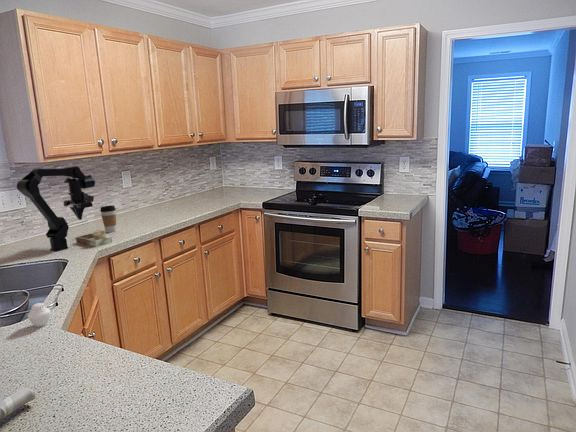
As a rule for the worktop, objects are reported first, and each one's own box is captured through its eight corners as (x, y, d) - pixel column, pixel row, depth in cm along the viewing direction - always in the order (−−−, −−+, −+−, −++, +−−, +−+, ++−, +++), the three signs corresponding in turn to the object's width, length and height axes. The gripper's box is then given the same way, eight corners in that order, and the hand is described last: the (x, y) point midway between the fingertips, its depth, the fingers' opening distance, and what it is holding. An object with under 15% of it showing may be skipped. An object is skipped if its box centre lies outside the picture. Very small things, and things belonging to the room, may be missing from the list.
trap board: (96, 246, 219) (95, 241, 219) (76, 243, 229) (75, 237, 229) (112, 242, 227) (111, 236, 226) (92, 238, 237) (91, 233, 236)
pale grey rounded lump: (55, 319, 136) (51, 298, 135) (48, 327, 131) (44, 306, 129) (34, 321, 136) (30, 300, 134) (26, 330, 130) (21, 308, 128)
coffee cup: (102, 233, 246) (98, 208, 243) (104, 230, 254) (100, 205, 251) (118, 232, 249) (114, 206, 245) (119, 228, 257) (115, 204, 253)
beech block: (99, 239, 221) (98, 232, 220) (94, 238, 223) (93, 231, 223) (106, 237, 224) (105, 230, 224) (101, 237, 227) (100, 229, 226)
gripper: (99, 188, 226) (104, 218, 230) (81, 187, 237) (85, 215, 241) (79, 192, 218) (84, 222, 221) (60, 190, 229) (65, 219, 232)
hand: (80, 219), depth 229 cm, fingers closed
